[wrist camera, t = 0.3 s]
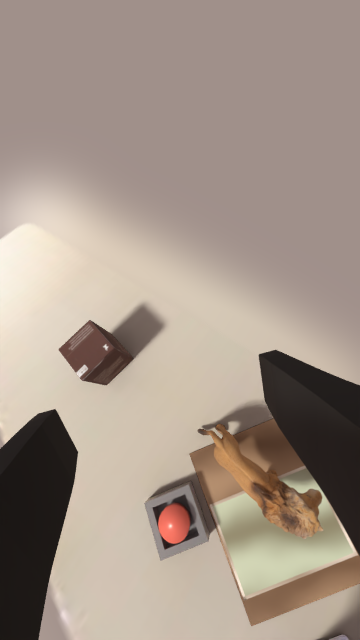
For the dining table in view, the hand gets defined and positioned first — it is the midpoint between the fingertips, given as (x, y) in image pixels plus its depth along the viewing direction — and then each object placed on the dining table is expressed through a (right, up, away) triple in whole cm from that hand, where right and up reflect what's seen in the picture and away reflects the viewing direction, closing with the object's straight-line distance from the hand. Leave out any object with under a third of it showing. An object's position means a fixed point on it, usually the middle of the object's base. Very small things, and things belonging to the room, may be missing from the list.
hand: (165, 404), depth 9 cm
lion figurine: (+10, -16, +25) cm, 31 cm away
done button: (0, -21, +23) cm, 31 cm away
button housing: (0, -22, +24) cm, 33 cm away
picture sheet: (+12, -20, +23) cm, 33 cm away
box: (-11, -3, +33) cm, 35 cm away
